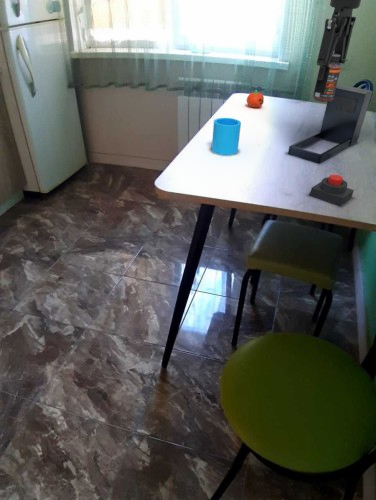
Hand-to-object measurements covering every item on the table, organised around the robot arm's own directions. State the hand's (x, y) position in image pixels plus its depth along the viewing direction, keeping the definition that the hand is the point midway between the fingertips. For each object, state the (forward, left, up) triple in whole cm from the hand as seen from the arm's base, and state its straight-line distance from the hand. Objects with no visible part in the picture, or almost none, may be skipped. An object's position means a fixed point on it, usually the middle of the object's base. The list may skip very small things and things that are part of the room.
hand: (324, 90), depth 120 cm
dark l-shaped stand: (0, -10, -19) cm, 21 cm away
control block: (-19, +24, -19) cm, 36 cm away
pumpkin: (+44, -34, -19) cm, 59 cm away
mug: (+23, +15, -19) cm, 33 cm away
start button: (-19, +24, -15) cm, 34 cm away
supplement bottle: (0, 0, -3) cm, 3 cm away
